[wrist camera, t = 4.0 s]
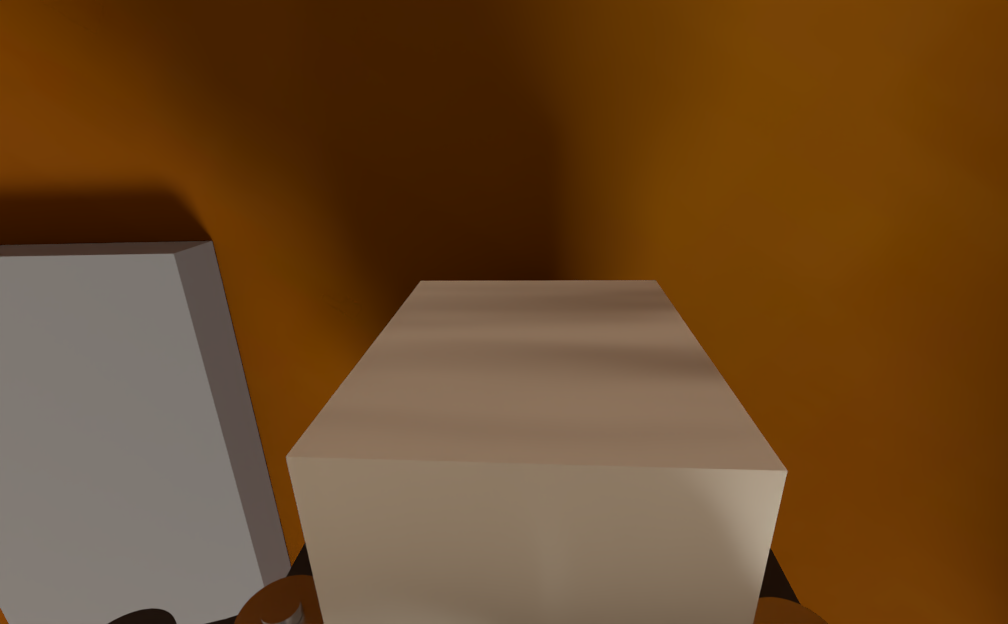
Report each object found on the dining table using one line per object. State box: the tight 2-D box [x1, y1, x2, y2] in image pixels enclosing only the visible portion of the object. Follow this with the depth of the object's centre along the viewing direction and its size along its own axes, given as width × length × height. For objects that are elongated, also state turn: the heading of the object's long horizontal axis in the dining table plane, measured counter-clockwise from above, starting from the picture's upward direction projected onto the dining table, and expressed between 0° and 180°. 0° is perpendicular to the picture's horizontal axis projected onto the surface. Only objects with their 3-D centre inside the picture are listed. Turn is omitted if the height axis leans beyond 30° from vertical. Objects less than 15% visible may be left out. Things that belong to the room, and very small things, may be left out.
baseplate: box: [0, 241, 291, 624], centre depth 16 cm, size 16×10×2 cm, turn 2°
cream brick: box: [286, 280, 787, 624], centre depth 9 cm, size 8×5×6 cm, turn 2°
